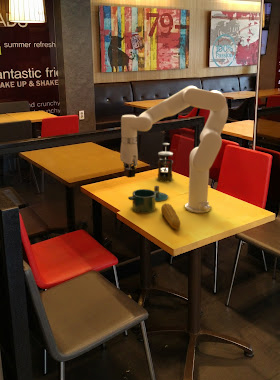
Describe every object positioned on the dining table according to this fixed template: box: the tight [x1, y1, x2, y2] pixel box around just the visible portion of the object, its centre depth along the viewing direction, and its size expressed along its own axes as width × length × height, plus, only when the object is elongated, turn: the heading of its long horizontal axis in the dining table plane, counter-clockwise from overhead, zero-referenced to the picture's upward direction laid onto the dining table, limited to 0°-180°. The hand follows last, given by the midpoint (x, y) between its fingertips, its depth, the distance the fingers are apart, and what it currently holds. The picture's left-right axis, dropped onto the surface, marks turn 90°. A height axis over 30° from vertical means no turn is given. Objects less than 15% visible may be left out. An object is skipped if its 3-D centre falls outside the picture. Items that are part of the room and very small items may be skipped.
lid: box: [153, 185, 169, 202], centre depth 212 cm, size 12×12×7 cm
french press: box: [156, 142, 174, 183], centre depth 241 cm, size 12×9×23 cm
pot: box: [128, 188, 160, 214], centre depth 197 cm, size 11×17×8 cm
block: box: [123, 167, 130, 179], centre depth 197 cm, size 4×4×4 cm
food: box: [160, 202, 181, 230], centre depth 183 cm, size 21×6×6 cm, turn 12°
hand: (129, 175), depth 198 cm, fingers closed on block, 4 cm apart
